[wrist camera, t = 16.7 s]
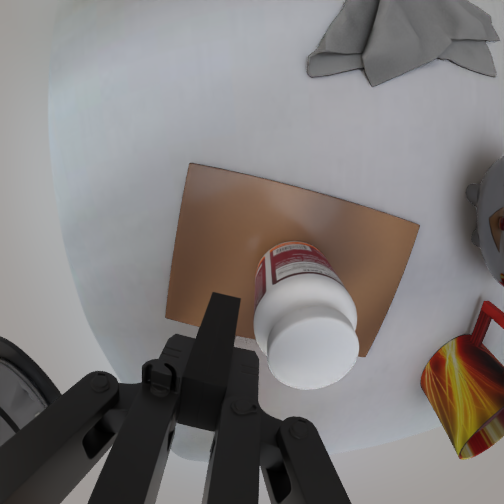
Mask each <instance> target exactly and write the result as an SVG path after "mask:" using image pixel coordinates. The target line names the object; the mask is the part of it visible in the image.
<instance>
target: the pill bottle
mask: <svg viewBox="0 0 504 504" xmlns="http://www.w3.org/2000/svg"><path fill="white" fill-rule="evenodd" d="M356 325H357V312H356V307H355V304H354V302H353V300H352V298H351V296H350V294H349V293H348V291H347V290H346V288H345V286H344V285H343V283H342V282H341V280H340V279H339V277H338V276H337V274H336V273H335V271H334V269H333V268H332V266H331V265H330V263H329V262H328V260H327V259H326V257H325V256H324V255H323V254H322V253H321V252H320V251H319V250H318V249H317V248H315V247H314V246H312V245H310V244H308V243H304V242H299V241H289V242H284V243H281V244H278V245H276V246H275V247H273V248H271V249H270V250H269V251H268V252H267V253H266V254H265V255H264V256H263V257H262V259H261V260H260V262H259V264H258V267H257V270H256V275H255V298H254V334H255V338H256V341H257V343H258V345H259V347H260V349H261V350H262V351H263V353H264V354H265V355H266V356H267V361H268V366H269V368H270V371H271V373H272V374H273V375H274V376H275V378H276V379H278V380H279V381H280V382H281V383H283V384H285V385H287V386H289V387H292V388H296V389H304V390H311V389H318V388H322V387H326V386H328V385H331V384H333V383H335V382H337V381H338V380H340V379H341V378H343V377H344V376H345V375H346V374H347V373H348V372H349V371H350V370H351V369H352V367H353V366H354V364H355V362H356V360H357V357H358V354H359V341H358V337H357V335H356V333H355V330H356Z"/></svg>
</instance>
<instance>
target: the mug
mask: <svg viewBox="0 0 504 504" xmlns="http://www.w3.org/2000/svg"><path fill="white" fill-rule="evenodd" d="M491 319H493V320H494V321H495V322H496V323H498V324H499V325H500V326H501V327H502V328H503V329H504V313H503V312H502V311H501V310H500V309H499V308H497V307H496V306H495V305H494V304H492V303H491V302H490V301H484V302H483V305H482V308H481V311H480V314H479V317H478V319H477V322H476V325H475V327H474V330H473V333H472V335H470V334H469V335H462V336H459V337H457V338H455V339H453V340H451V341H450V342H448V343H446V344H445V345H444V346H443V347H442V348H440V349H439V350H438V351H437V352H436V353H435V354H434V356H433V357H432V358H431V359H430V361H429V362H428V364H427V365H426V367H425V369H424V371H423V373H422V376H421V388H422V389H423V391H424V393H425V395H426V396H427V398H428V400H429V402H430V403H431V405H432V407H433V409H434V411H435V412H436V414H437V416H438V418H439V420H440V422H441V423H442V425H443V427H444V429H445V431H446V433H447V434H448V437H449V439H450V440H451V442H452V445H453V446H454V448H455V450H456V452H457V454H458V457H459V458H460V459H462V460H464V459H469V458H472V457H474V456H476V455H478V454H480V453H482V452H483V451H485V450H487V449H488V448H490V447H491V446H492V445H494V444H495V443H496V442H497V441H499V440H500V439H501V438H502V437H503V436H504V366H503V365H502V364H501V363H500V362H499V361H498V360H497V359H496V357H495V356H494V355H493V354H492V353H491V352H490V351H489V350H488V349H487V348H486V347H485V346H484V345H483V344H482V342H483V339H484V337H485V335H486V332H487V330H488V327H489V324H490V322H491Z"/></svg>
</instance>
